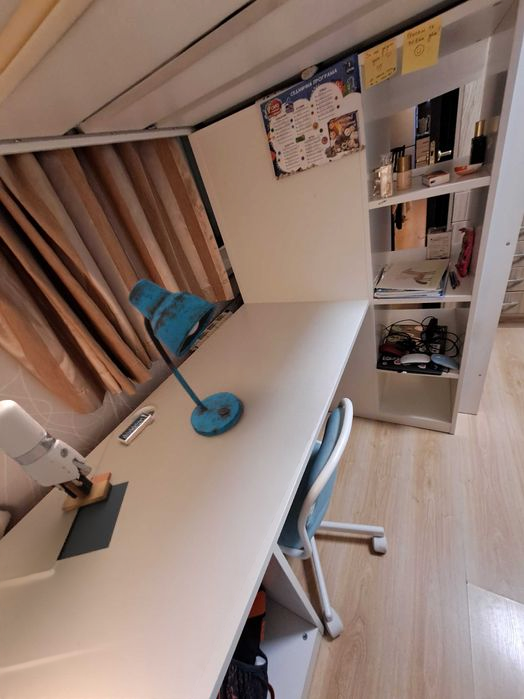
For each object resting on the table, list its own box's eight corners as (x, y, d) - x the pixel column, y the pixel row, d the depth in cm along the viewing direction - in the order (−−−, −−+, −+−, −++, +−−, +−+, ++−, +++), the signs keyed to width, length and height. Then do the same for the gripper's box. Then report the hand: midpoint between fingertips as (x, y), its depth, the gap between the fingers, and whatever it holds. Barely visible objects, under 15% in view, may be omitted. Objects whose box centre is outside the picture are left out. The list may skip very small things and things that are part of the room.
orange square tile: (93, 491, 77) (90, 487, 77) (99, 479, 81) (96, 476, 80) (107, 486, 77) (104, 483, 77) (112, 475, 81) (110, 471, 80)
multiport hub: (120, 442, 91) (116, 437, 90) (146, 416, 98) (142, 411, 97) (128, 446, 89) (124, 441, 87) (154, 419, 96) (151, 414, 94)
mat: (28, 569, 65) (26, 568, 65) (61, 500, 78) (60, 499, 78) (109, 548, 64) (108, 547, 64) (130, 482, 77) (128, 480, 77)
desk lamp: (242, 443, 78) (167, 291, 53) (180, 431, 88) (93, 299, 63) (264, 399, 89) (210, 258, 64) (207, 393, 99) (142, 269, 74)
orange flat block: (78, 495, 77) (75, 492, 77) (85, 483, 81) (83, 480, 81) (92, 491, 77) (90, 487, 77) (99, 479, 81) (96, 476, 80)
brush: (67, 514, 74) (43, 495, 69) (74, 497, 77) (51, 478, 73) (107, 501, 73) (86, 481, 69) (112, 485, 77) (93, 465, 72)
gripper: (74, 425, 67) (117, 470, 77) (11, 443, 68) (62, 485, 78) (58, 452, 60) (107, 498, 70) (-11, 472, 61) (47, 514, 71)
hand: (83, 491), depth 74 cm, fingers closed on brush, 2 cm apart
